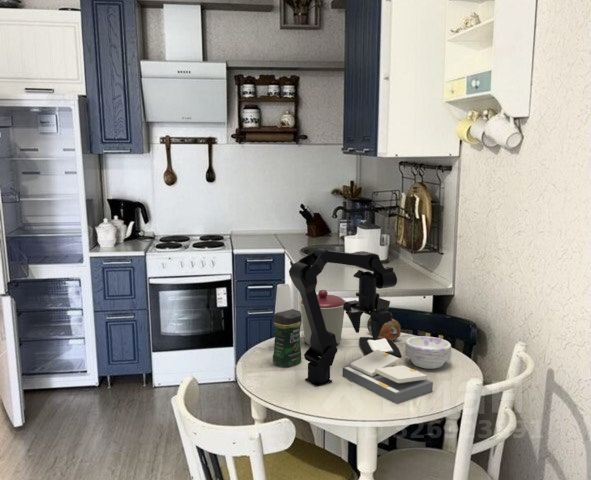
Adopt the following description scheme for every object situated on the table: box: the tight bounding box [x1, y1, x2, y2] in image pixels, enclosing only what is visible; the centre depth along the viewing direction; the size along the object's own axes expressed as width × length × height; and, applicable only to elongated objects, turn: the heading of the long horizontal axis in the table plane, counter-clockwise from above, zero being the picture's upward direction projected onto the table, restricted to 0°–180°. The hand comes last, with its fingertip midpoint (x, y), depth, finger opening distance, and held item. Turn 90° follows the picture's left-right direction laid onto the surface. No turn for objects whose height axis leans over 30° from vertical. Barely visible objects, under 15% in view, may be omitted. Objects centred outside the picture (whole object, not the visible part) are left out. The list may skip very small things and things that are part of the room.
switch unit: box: [342, 364, 434, 405], centre depth 172 cm, size 15×24×4 cm, turn 35°
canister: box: [298, 289, 347, 347], centre depth 208 cm, size 18×18×21 cm
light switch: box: [358, 336, 403, 359], centre depth 204 cm, size 20×3×14 cm
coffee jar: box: [272, 308, 303, 368], centre depth 189 cm, size 10×8×19 cm
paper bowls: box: [404, 335, 452, 370], centre depth 189 cm, size 15×15×8 cm
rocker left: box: [350, 349, 400, 377], centre depth 177 cm, size 12×10×1 cm
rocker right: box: [375, 365, 428, 383], centre depth 167 cm, size 12×10×1 cm
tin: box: [366, 317, 402, 341], centre depth 217 cm, size 15×3×8 cm, turn 43°
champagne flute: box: [274, 283, 293, 314], centre depth 203 cm, size 7×7×24 cm
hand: (366, 336), depth 182 cm, fingers open, 9 cm apart
